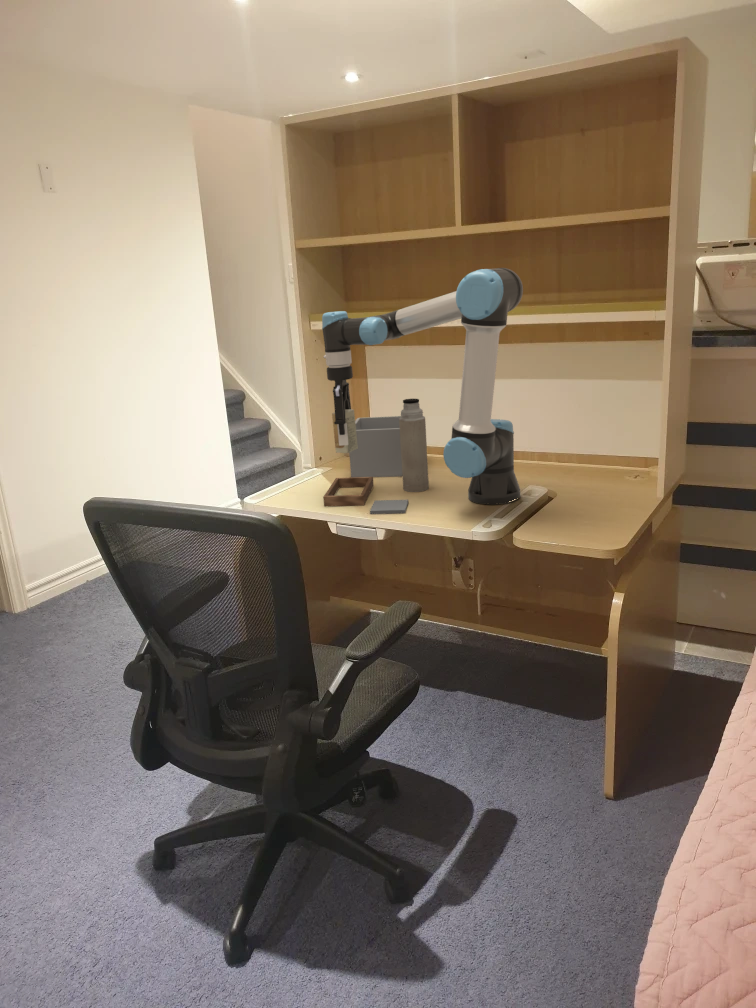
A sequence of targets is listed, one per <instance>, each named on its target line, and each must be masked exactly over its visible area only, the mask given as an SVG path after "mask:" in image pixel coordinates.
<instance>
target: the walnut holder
mask: <svg viewBox="0 0 756 1008" xmlns="http://www.w3.org/2000/svg"><path fill="white" fill-rule="evenodd" d="M373 487H374V477H351V476H350V477H335V479H334V481H333V482H331V484H330V486H329V488H328V489H327V490H326V492H325V494H324V496H322V497H323V506H328V507H356V506H357V507H358V506H361V507H362V506H365V505H366V502H367V500H368V498H369V496H370V494H371V492H372V490H373ZM340 488H363V489H362V492H361V493H360V494H351V495H350V494H349V495H348V494H347V495H346V494H344V495H343V494H341V495H336V494H337V492H338V491H339V489H340Z"/></svg>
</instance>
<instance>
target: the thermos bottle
mask: <svg viewBox="0 0 756 1008" xmlns="http://www.w3.org/2000/svg"><path fill="white" fill-rule="evenodd" d="M402 403H403V405H402V407H403V409H401V411H400V416H401V418H399V428H400V444H401V460H402V476H401V477H402V489H403V491H404V492H410V493H417V492H418V493H419V492H423V491H427V490H429V486H430V483H429V482H430V481H429V467H428V464H429V463H428V450H427V449H428V446H427V428H426V424H427V423H426V416H424V412H423V408H420V399H419V398H405V399H403V400H402Z"/></svg>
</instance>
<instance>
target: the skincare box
mask: <svg viewBox="0 0 756 1008" xmlns="http://www.w3.org/2000/svg"><path fill="white" fill-rule="evenodd" d="M355 414H356V413H355V409H351V410H347V409H345V421H346V423H347V433H348V444H349V445H341V446H339V439H338V428H337V424H334V422H335V411H334V412H332V413H331V416H332V417H331V418H332V426H333V427H332V428H333V435H334V446H335V447H334V448H335V453H337V454H349V452H351V451H353V450H356V449H358V445H357V435H356V425H355V421H356V416H355ZM340 419H341V418H340Z"/></svg>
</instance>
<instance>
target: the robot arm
mask: <svg viewBox="0 0 756 1008" xmlns="http://www.w3.org/2000/svg"><path fill="white" fill-rule="evenodd" d="M457 285H458V286H457V288H456V291H452V292H450V293H446V294H444V295H441V296H437V297H434V298H430V299H428V300H426V301H425V300H424V301H421V302H419V303H416V304H413V305H409V306H406V307H403V308H401V309H397V310H393V311H390V312H387V313H383V314H377V315H372V316H371V315H370V316H365V317H354V318H351V317H349V315H348V312H347V311H345V310H339V311H338V310H337V311H329V312H324V313H323V314H322V316H321V321H322V323H321V324H322V326H321V327H322V328H321V330H322V336H323V343H324V353H325V354H324V355H323V358H324V359H325V364H326V365H325V366H327V367H326V377H327V381H331V382H332V381H334V386H333V389H332V394H333V407H334V412H335V422H334V424H337V428H338V439H339V446H341V445H349V444H348V433H347V423H346V421H345V409H347V410H352V405H351V396H350V383H349V382H347V380H351V379H353V377H354V376H353V375H354V374H353V366H352V365H351V364H352V363H353V361H352V360H353V359H352V350H351V346H352V345H353V346H364V345H365V346H366V345H368V346H373V345H374V346H376V345H381V344H383V343H384V341H385V342H386V341H390V340H396V339H399V338H401V337H404V336H407V335H410V334H413V333H417V332H420V331H424V330H426V329H427V330H428V329H430V328H434V327H436V326H437V327H438V326H441V325H443V324H448V323H450V322H454V321H458V320H460V323H461V325H462V327H464V329H465V330H466V331H465V342H464V343H465V344H464V351H463V352H464V355H463V364H462V365H463V366H462V375H461V377H462V378H461V389H460V397H459V398H460V400H459V410H458V411H459V413H458V419H457V420H456V421H455V422H453V424H452V428H451V438H450V440H449V441H447V443H446V444H445V446H444V448H443V452H442V453H443V460H444V463H445V466H446V467H447V468H448V469H449V470H450V471H451V473H452V474H453V475H455V476H457V477H459V478H461V479H462V478H463V479H470V478H471V480H470V483H469V485H468V490H467V491H468V492H467V493H468V494H467V495H468V496H467V498H468V500H469V501H471V502H473V503H476V504H480V505H504V504H505V505H506V504H509V503H508V502H509V501H512V500H514V499H517V498H519V497H520V498H521V487H520V484H519V481H518V479H517V477H516V473H515V461H514V459H515V454H514V452H515V451H514V449H515V448H514V434H515V432H514V426H513V422H512V421H510V420H507V419H497V418H492V411H493V402H494V401H493V400H494V393H495V392H494V390H495V382H496V381H495V380H496V371H497V363H498V352H499V351H498V350H499V342H500V334H501V332H502V330H504V329H505V327H507V323H508V314H509V312H511V311H513V310H514V309H516V307H517V306H518V305H519V304H520V302H521V300H522V298H523V294H524V287H523V282H522V279H521V278H520V276H519V275H518V274H517V273H516V272H515V271H514V270H512V269H509V268H506V267H497V268H484V269H483V268H481V269H477V270H474V271H471V272H470V273H467V274H466V275H465V276H464V277H463V278H462V279H461V281H460V282H459V283H458V284H457ZM340 418H341V419H340ZM520 498H519V499H520Z"/></svg>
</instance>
